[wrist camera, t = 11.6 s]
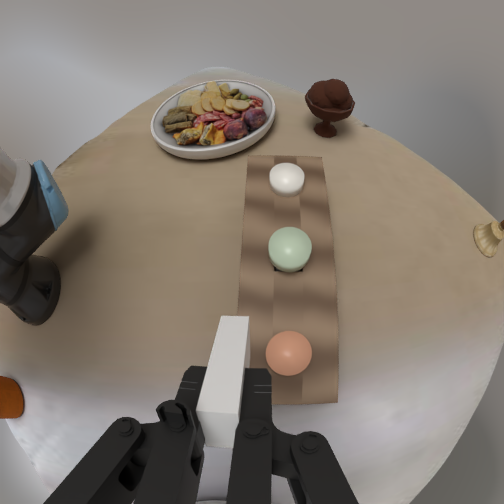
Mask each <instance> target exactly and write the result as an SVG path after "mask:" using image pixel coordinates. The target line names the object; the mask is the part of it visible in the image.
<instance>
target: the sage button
mask: <svg viewBox="0 0 504 504" xmlns="http://www.w3.org/2000/svg"><path fill="white" fill-rule="evenodd" d="M311 249H312V245H311V241H310V238H309V237H308V235H307V234H306V233H305V232H303V231H302V230H300V229H298V228H295V227H284V228H281V229H279V230H277V231H276V232H274V233H273V235H272V236H271V238H270V240H269V259H270V261H271V263H272V264H273V265H274V266H275V267H276V271H282V272H300V269H302V268H303V267H304V266H305V265H306V264H307V262H308V260H309V257H310V253H311Z"/></svg>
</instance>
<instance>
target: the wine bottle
mask: <svg viewBox="0 0 504 504" xmlns="http://www.w3.org/2000/svg"><path fill="white" fill-rule="evenodd" d="M22 412H23V397H22V393H21V390H20V388H19V386H18V385H17V383H16V382H15V381H14V380H12V379H11V378H7V377H3V376H0V418H2V419H3V418H4V419H8V418H18V417H20V415H21V414H22Z"/></svg>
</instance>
